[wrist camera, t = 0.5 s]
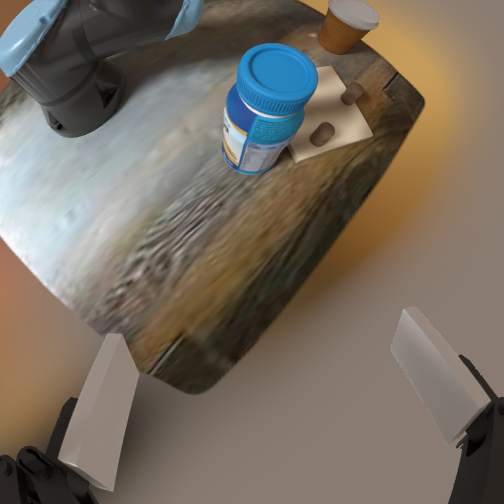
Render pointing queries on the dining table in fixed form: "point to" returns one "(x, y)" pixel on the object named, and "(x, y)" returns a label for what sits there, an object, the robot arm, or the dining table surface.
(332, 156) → the dining table surface
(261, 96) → the beverage bottle
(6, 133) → the dining table surface
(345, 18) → the disposable coffee cup
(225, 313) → the dining table surface
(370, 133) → the peg board
